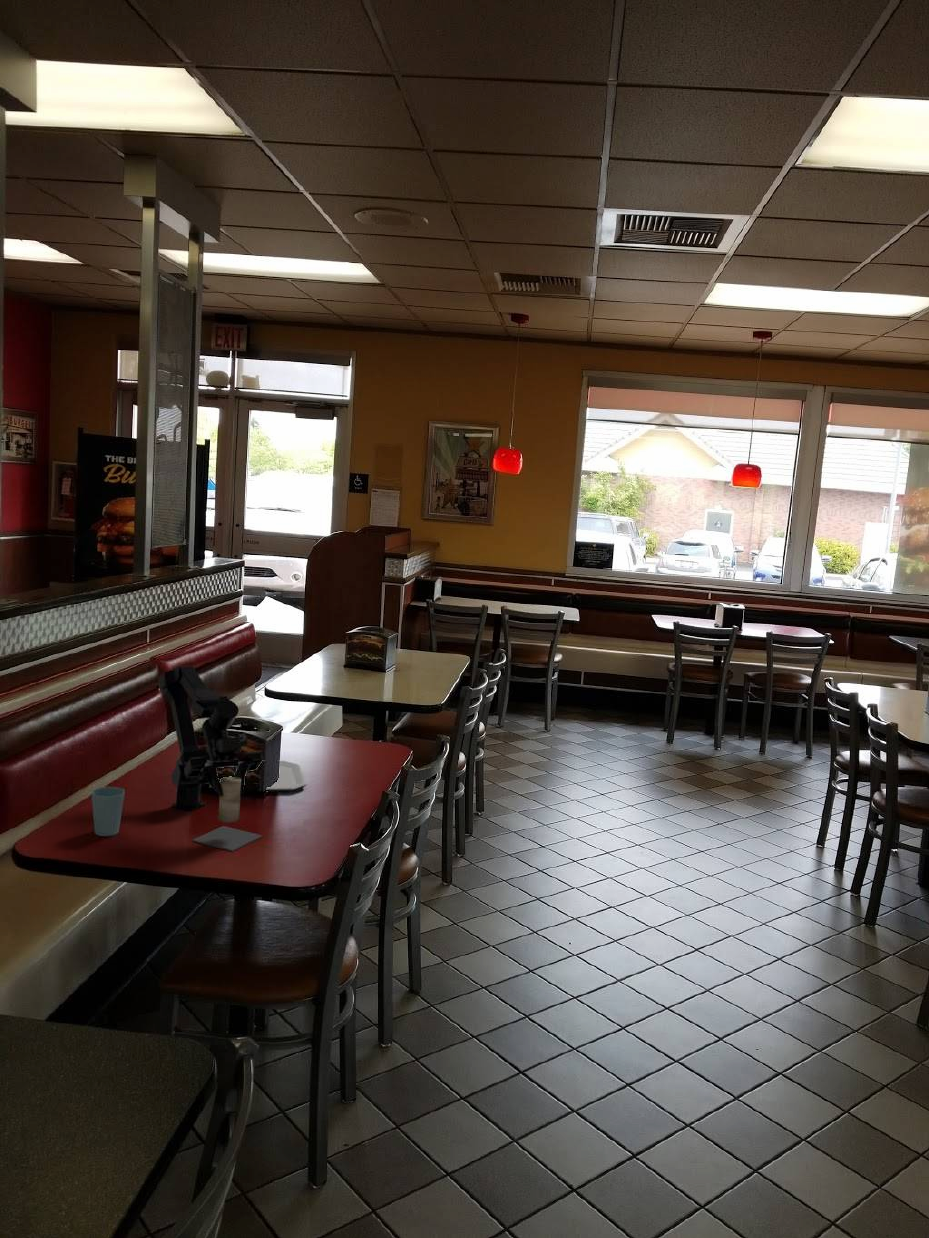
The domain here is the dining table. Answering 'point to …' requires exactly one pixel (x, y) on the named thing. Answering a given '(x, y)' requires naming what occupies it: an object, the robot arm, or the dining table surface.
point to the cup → (107, 810)
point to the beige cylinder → (229, 799)
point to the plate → (288, 778)
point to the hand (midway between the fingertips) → (232, 794)
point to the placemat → (227, 838)
